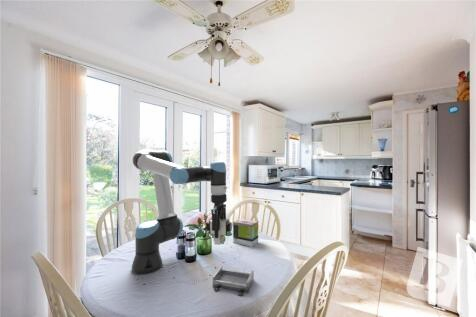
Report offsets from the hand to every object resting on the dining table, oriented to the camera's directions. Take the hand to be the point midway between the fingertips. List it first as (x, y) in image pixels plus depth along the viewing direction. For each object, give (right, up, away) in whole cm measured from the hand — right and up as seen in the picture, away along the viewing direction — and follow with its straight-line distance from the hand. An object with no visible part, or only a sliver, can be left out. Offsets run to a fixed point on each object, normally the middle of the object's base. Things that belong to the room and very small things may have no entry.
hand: (219, 241), depth 105 cm
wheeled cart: (+6, -18, -5) cm, 20 cm away
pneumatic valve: (0, -1, 0) cm, 1 cm away
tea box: (+14, -18, +46) cm, 51 cm away
